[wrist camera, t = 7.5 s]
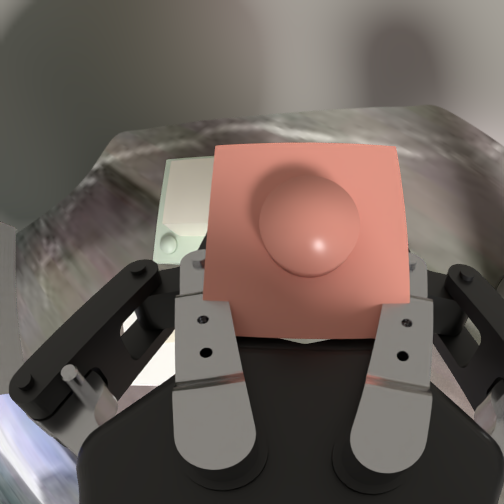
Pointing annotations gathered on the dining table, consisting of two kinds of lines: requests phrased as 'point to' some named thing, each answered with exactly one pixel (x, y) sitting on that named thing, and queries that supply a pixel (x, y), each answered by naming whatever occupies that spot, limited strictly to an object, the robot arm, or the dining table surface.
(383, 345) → the robot arm
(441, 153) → the dining table surface
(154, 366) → the page
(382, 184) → the tall brick
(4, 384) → the house
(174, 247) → the tower base
